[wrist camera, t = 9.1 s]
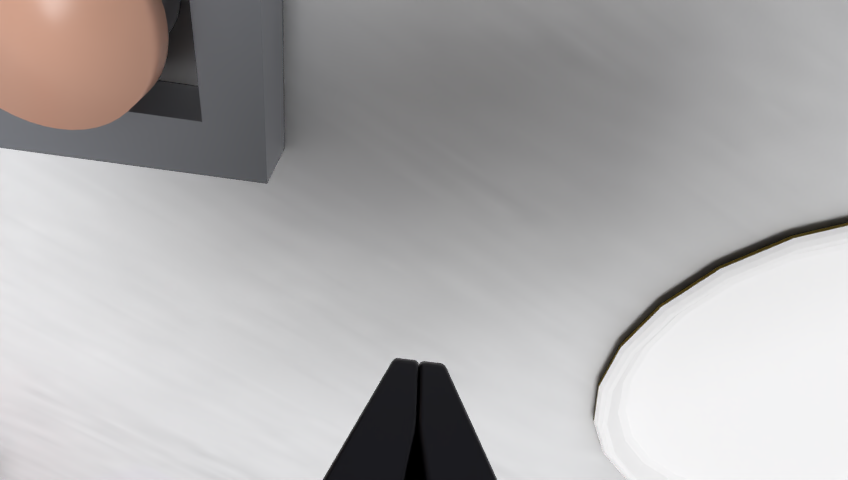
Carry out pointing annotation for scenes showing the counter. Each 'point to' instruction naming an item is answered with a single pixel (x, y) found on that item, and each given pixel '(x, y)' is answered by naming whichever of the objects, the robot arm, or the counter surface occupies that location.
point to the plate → (738, 372)
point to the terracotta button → (81, 58)
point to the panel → (194, 105)
